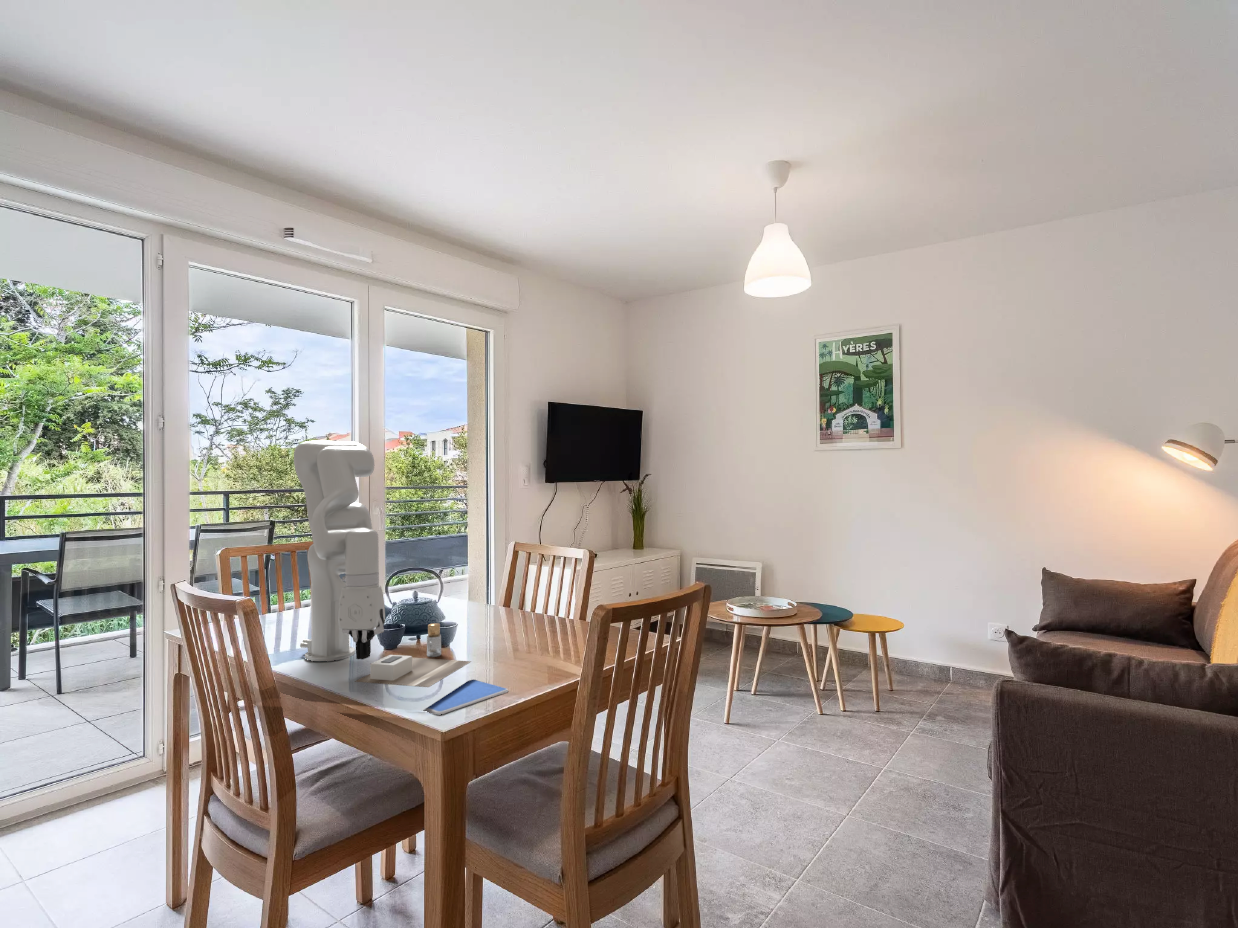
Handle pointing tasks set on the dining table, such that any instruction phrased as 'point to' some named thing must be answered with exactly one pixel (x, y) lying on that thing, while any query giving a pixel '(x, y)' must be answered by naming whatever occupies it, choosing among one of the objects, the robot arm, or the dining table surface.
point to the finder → (390, 667)
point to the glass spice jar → (433, 640)
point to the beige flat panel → (422, 672)
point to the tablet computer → (465, 696)
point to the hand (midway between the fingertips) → (363, 657)
